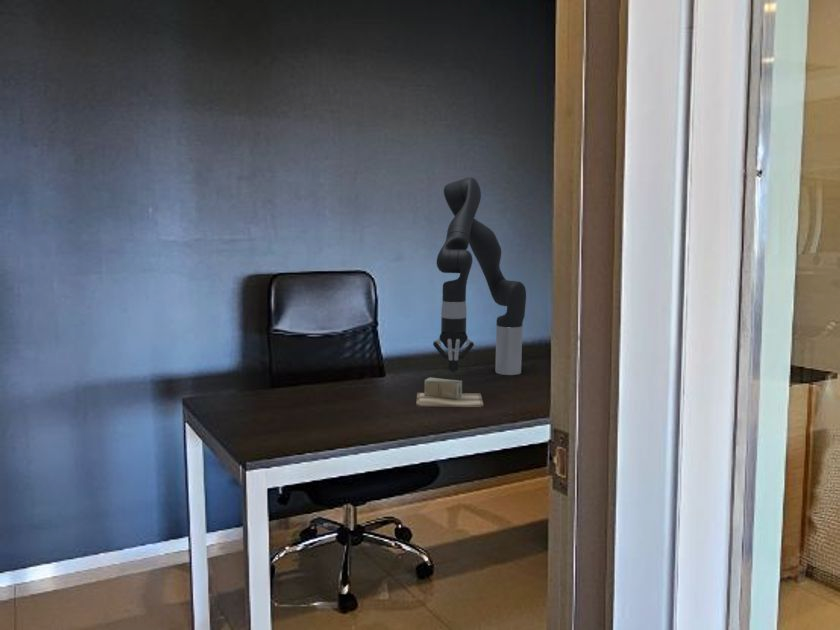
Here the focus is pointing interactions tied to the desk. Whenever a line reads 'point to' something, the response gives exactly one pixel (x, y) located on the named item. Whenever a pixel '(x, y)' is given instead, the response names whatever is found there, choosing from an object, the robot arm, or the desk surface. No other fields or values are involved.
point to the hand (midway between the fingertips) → (453, 371)
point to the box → (443, 388)
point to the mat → (450, 400)
